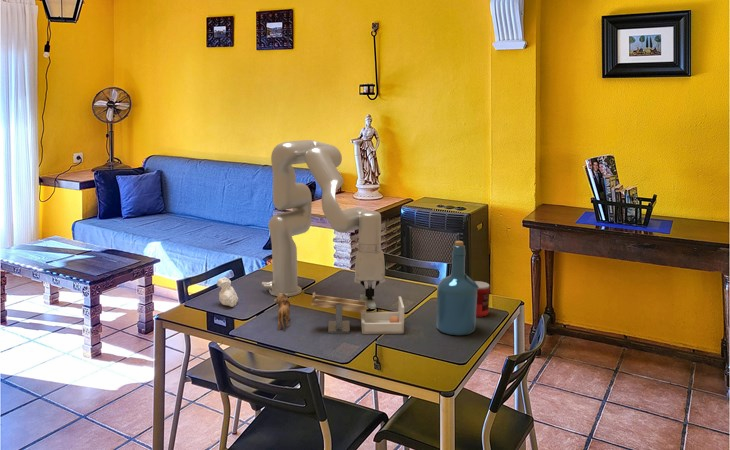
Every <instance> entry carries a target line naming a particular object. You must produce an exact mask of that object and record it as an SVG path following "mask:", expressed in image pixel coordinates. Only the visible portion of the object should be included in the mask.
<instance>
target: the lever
mask: <svg viewBox="0 0 730 450" xmlns="http://www.w3.org/2000/svg"><path fill="white" fill-rule="evenodd" d="M310 304H311V305H310V306H311V307H315V308H316V307H317V308H325V309H334V310H336V304H342V311H347V312H355V313H357V312H358V313H361V312H363V313H366V312H367V309H373V310H376V309H377V307H376V306H377V305H376V300H375V296H374V297H372V300H371V299H369V300H368V298H367V297H366V296H365V294H362V293H359V300H358V299H350V298H342V297H335V296H327V295H320V294H316V292H315V291H314V292H313V291H312V298H311V303H310Z"/></svg>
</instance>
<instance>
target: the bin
mask: <svg viewBox="0 0 730 450" xmlns="http://www.w3.org/2000/svg"><path fill="white" fill-rule="evenodd" d="M397 304H398V308H397V309H398V311H366V313H363V312H360V326H361V334H362V335H393V334H394V335H396V334H397V335H400V334H401V335H403V334H405V306H404V302H403V298H402V296H398V303H397ZM392 316H397V317H398V318H399V323H390V321H389V320H390V318H391V317H392Z"/></svg>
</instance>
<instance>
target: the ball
mask: <svg viewBox="0 0 730 450" xmlns="http://www.w3.org/2000/svg"><path fill="white" fill-rule="evenodd" d="M389 321H390V323H399V318H398V317H397V316H392V317H391V318H390V320H389Z"/></svg>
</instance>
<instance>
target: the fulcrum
mask: <svg viewBox="0 0 730 450" xmlns="http://www.w3.org/2000/svg"><path fill="white" fill-rule="evenodd" d="M327 330H328V331H327V333H328V334H350V333H351V331H350V330H351V327H350V320H343V310H342V304H336V309H335V320H328V328H327Z"/></svg>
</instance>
